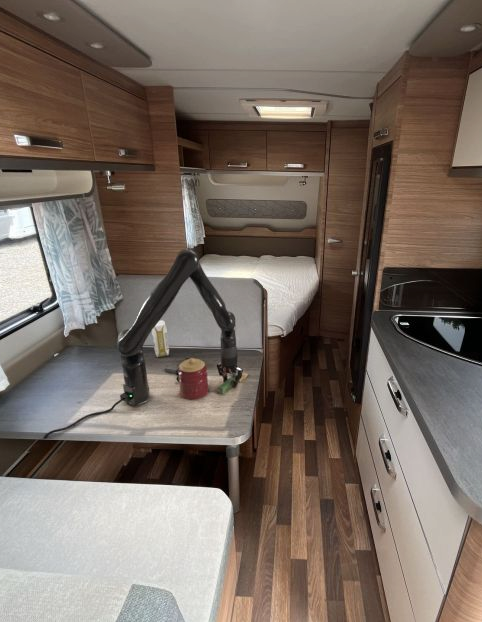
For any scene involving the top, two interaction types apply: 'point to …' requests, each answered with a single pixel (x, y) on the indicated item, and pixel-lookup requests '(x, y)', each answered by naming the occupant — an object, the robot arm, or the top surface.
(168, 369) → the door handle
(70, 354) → the top surface
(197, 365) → the kitchen canister
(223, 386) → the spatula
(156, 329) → the juice carton
